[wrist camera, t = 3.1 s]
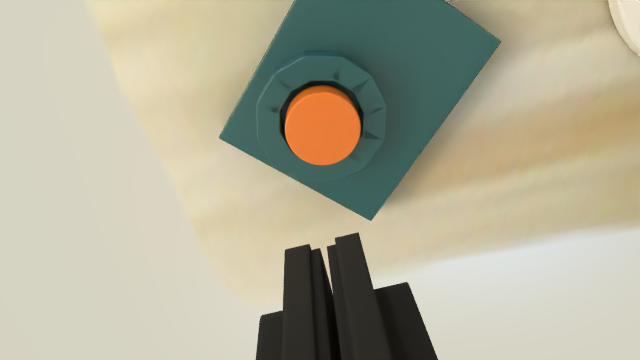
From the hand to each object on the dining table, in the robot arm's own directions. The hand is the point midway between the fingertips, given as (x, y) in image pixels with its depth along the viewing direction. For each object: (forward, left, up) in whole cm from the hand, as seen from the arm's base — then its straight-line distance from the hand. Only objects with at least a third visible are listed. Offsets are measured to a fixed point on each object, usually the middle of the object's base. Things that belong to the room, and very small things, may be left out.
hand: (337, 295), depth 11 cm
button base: (-2, +1, -18) cm, 18 cm away
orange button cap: (0, 0, -14) cm, 14 cm away
